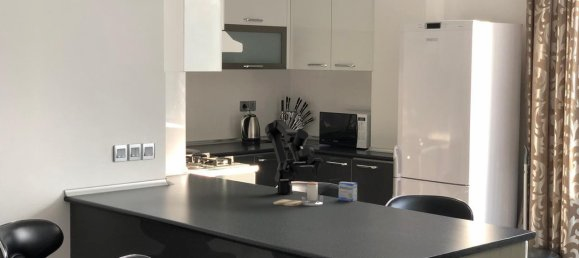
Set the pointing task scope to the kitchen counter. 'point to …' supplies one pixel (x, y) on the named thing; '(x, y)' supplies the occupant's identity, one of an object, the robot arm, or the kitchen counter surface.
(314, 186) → the whitish cup
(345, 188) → the medicine box
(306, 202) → the clear glass bowl
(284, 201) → the board
